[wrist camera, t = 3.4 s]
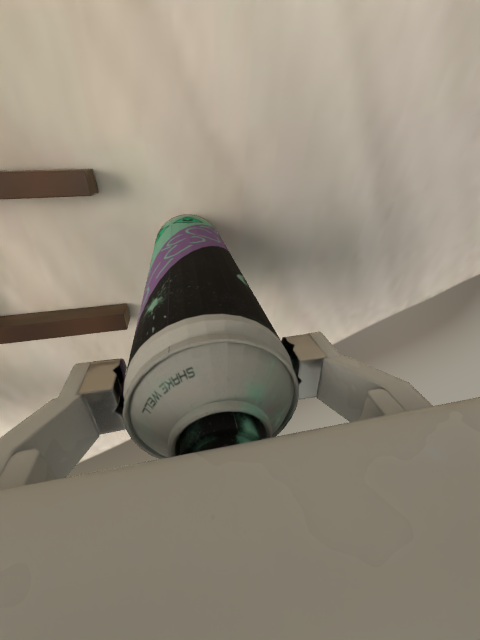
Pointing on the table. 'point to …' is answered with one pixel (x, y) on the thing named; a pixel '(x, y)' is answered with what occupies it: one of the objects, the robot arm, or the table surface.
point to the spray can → (203, 352)
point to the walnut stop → (64, 320)
